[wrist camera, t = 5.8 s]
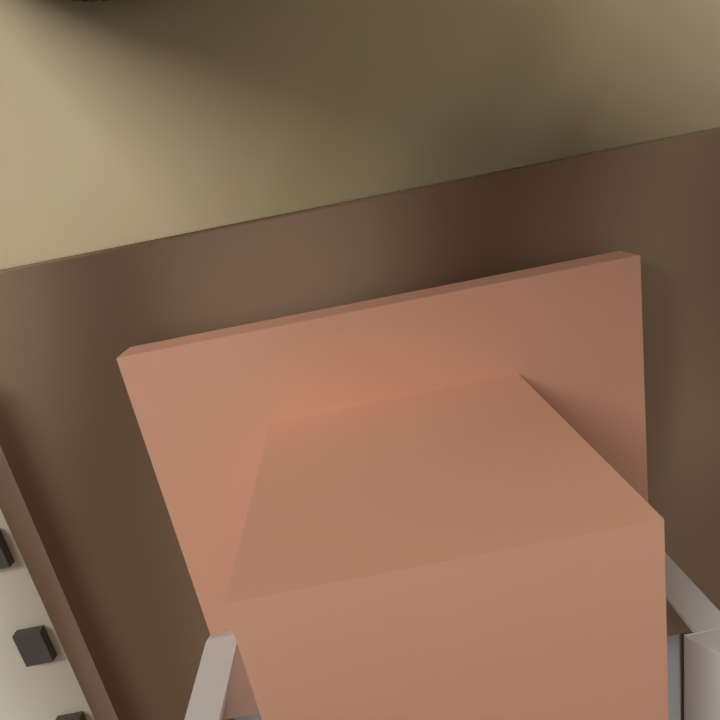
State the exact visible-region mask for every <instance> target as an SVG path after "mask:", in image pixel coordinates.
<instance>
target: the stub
mask: <svg viewBox="0 0 720 720" xmlns="http://www.w3.org/2000/svg"><path fill="white" fill-rule="evenodd" d="M116 360H117V362H118V365H119V368H120V371H121V374H122V377H123V380H124V383H125V386H126V389H127V392H128V395H129V398H130V401H131V404H132V406H133V409H134V412H135V415H136V418H137V421H138V424H139V427H140V430H141V433H142V436H143V439H144V442H145V445H146V448H147V450H148V453H149V456H150V459H151V462H152V465H153V468H154V471H155V474H156V477H157V480H158V483H159V486H160V489H161V492H162V494H163V497H164V500H165V503H166V506H167V509H168V512H169V515H170V518H171V521H172V524H173V527H174V530H175V533H176V536H177V538H178V541H179V544H180V547H181V550H182V553H183V556H184V559H185V562H186V565H187V568H188V571H189V574H190V577H191V580H192V582H193V585H194V588H195V591H196V594H197V597H198V600H199V603H200V606H201V609H202V612H203V615H204V618H205V621H206V624H207V626H208V629H209V632H210V635H211V634H212V633H219V632H225V631H231V630H233V632H234V635H235V638H236V641H237V644H238V648H239V651H240V654H241V657H242V660H243V663H244V666H245V669H246V672H247V675H248V678H249V681H250V685H251V688H252V691H253V694H254V697H255V700H256V703H257V706H258V709H259V712H260V715H261V719H262V720H669V714H668V668H667V623H666V577H665V532H664V518H663V517H662V516H661V515H660V514H659V513H658V512H657V511H656V510H655V509H653V508H652V507H651V506H650V505H649V504H648V481H647V450H646V419H645V388H644V357H643V325H642V294H641V263H640V255H637V254H633V253H628V252H624V251H616V252H611V253H606V254H601V255H596V256H591V257H585V258H580V259H575V260H570V261H565V262H560V263H555V264H550V265H545V266H540V267H535V268H530V269H524V270H519V271H514V272H509V273H504V274H499V275H494V276H489V277H484V278H479V279H474V280H469V281H464V282H458V283H453V284H448V285H443V286H438V287H433V288H428V289H423V290H418V291H413V292H408V293H403V294H397V295H392V296H387V297H382V298H377V299H372V300H367V301H362V302H357V303H352V304H347V305H342V306H336V307H331V308H326V309H321V310H316V311H311V312H306V313H301V314H296V315H291V316H286V317H281V318H276V319H270V320H265V321H260V322H255V323H250V324H245V325H240V326H235V327H230V328H225V329H220V330H215V331H209V332H204V333H199V334H194V335H189V336H184V337H179V338H174V339H169V340H164V341H159V342H154V343H149V344H143V345H138V346H133V347H129V348H128V349H127V350H126V351H124V352H123V353H122V354H121V355H120V356H118V357H117V358H116Z"/></svg>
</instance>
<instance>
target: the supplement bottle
mask: <svg viewBox="0 0 720 720" xmlns="http://www.w3.org/2000/svg"><path fill="white" fill-rule="evenodd" d="M75 1H106V0H75Z"/></svg>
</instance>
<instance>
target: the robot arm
mask: <svg viewBox="0 0 720 720" xmlns="http://www.w3.org/2000/svg"><path fill="white" fill-rule="evenodd" d="M665 577H666V623H667V668H668V714H669V720H720V610H719V609H718V608H717V607H716V606H715V605H714V604H713V603H712V602H711V601H710V600H709V599H708V598H707V597H706V595H705V594H704V593H703V592H702V591H701V590H700V589H699V588H698V587H697V586H696V585H695V584H694V583H693V582H692V581H691V579H690V578H689V577H688V576H687V575H686V574H685V573H684V572H683V571H682V570H681V569H680V568H679V567H678V566H677V565H676V563H675V562H674V561H673V560H672V559H671V558H670V557H669V556H668V555H667V554H666V553H665ZM184 720H262V719H261V715H260V712H259V709H258V706H257V703H256V700H255V697H254V694H253V691H252V688H251V685H250V681H249V678H248V675H247V672H246V669H245V666H244V663H243V660H242V657H241V654H240V651H239V648H238V644H237V641H236V638H235V635H234V632H233V630H231V631H225V632H219V633H212V634H211V635H210V637H209V638H208V639H207V641H206V643H205V647H204V650H203V654H202V657H201V661H200V665H199V668H198V672H197V676H196V679H195V683H194V687H193V690H192V694H191V697H190V701H189V705H188V708H187V712H186V716H185V719H184Z"/></svg>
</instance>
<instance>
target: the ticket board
mask: <svg viewBox="0 0 720 720" xmlns="http://www.w3.org/2000/svg"><path fill="white" fill-rule="evenodd" d="M616 251H624V252H628V253H633V254H637V255H640V263H641V294H642V325H643V357H644V388H645V419H646V450H647V481H648V504H649V505H650V506H651V507H652V508H653V509H655V510H656V511H657V512H658V513H659V514H660V515H661V516H662V517H663V518H664V532H665V553H666V554H667V555H668V556H669V557H670V558H671V559H672V560H673V561H674V562H675V563H676V565H677V566H678V567H679V568H680V569H681V570H682V571H683V572H684V573H685V574H686V575H687V576H688V577H689V578H690V579H691V581H692V582H693V583H694V584H695V585H696V586H697V587H698V588H699V589H700V590H701V591H702V592H703V593H704V594H705V595H706V597H707V598H708V599H709V600H710V601H711V602H712V603H713V604H714V605H715V606H716V607H717V608H718V609H719V610H720V128H715V129H710V130H705V131H700V132H695V133H690V134H685V135H680V136H675V137H670V138H665V139H660V140H655V141H650V142H645V143H640V144H635V145H630V146H625V147H619V148H614V149H609V150H604V151H599V152H594V153H589V154H584V155H579V156H574V157H569V158H564V159H559V160H554V161H549V162H544V163H539V164H534V165H529V166H524V167H518V168H513V169H508V170H503V171H498V172H493V173H488V174H483V175H478V176H473V177H468V178H463V179H458V180H453V181H448V182H443V183H438V184H433V185H428V186H423V187H417V188H412V189H407V190H402V191H397V192H392V193H387V194H382V195H377V196H372V197H367V198H362V199H357V200H352V201H347V202H342V203H337V204H332V205H327V206H322V207H316V208H311V209H306V210H301V211H296V212H291V213H286V214H281V215H276V216H271V217H266V218H261V219H256V220H251V221H246V222H241V223H236V224H231V225H226V226H221V227H215V228H210V229H205V230H200V231H195V232H190V233H185V234H180V235H175V236H170V237H165V238H160V239H155V240H150V241H145V242H140V243H135V244H130V245H125V246H120V247H114V248H109V249H104V250H99V251H94V252H89V253H84V254H79V255H74V256H69V257H64V258H59V259H54V260H49V261H44V262H39V263H34V264H29V265H24V266H19V267H13V268H8V269H3V270H0V720H184V719H185V716H186V712H187V708H188V705H189V701H190V697H191V694H192V690H193V687H194V683H195V679H196V676H197V672H198V668H199V665H200V661H201V657H202V654H203V650H204V647H205V643H206V641H207V639H208V638H209V637H210V632H209V629H208V626H207V624H206V621H205V618H204V615H203V612H202V609H201V606H200V603H199V600H198V597H197V594H196V591H195V588H194V585H193V582H192V580H191V577H190V574H189V571H188V568H187V565H186V562H185V559H184V556H183V553H182V550H181V547H180V544H179V541H178V538H177V536H176V533H175V530H174V527H173V524H172V521H171V518H170V515H169V512H168V509H167V506H166V503H165V500H164V497H163V494H162V492H161V489H160V486H159V483H158V480H157V477H156V474H155V471H154V468H153V465H152V462H151V459H150V456H149V453H148V450H147V448H146V445H145V442H144V439H143V436H142V433H141V430H140V427H139V424H138V421H137V418H136V415H135V412H134V409H133V406H132V404H131V401H130V398H129V395H128V392H127V389H126V386H125V383H124V380H123V377H122V374H121V371H120V368H119V365H118V362H117V360H116V358H117V357H118V356H120V355H121V354H122V353H123V352H124V351H126V350H127V349H128V348H129V347H133V346H138V345H143V344H149V343H154V342H159V341H164V340H169V339H174V338H179V337H184V336H189V335H194V334H199V333H204V332H209V331H215V330H220V329H225V328H230V327H235V326H240V325H245V324H250V323H255V322H260V321H265V320H270V319H276V318H281V317H286V316H291V315H296V314H301V313H306V312H311V311H316V310H321V309H326V308H331V307H336V306H342V305H347V304H352V303H357V302H362V301H367V300H372V299H377V298H382V297H387V296H392V295H397V294H403V293H408V292H413V291H418V290H423V289H428V288H433V287H438V286H443V285H448V284H453V283H458V282H464V281H469V280H474V279H479V278H484V277H489V276H494V275H499V274H504V273H509V272H514V271H519V270H524V269H530V268H535V267H540V266H545V265H550V264H555V263H560V262H565V261H570V260H575V259H580V258H585V257H591V256H596V255H601V254H606V253H611V252H616Z"/></svg>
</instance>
